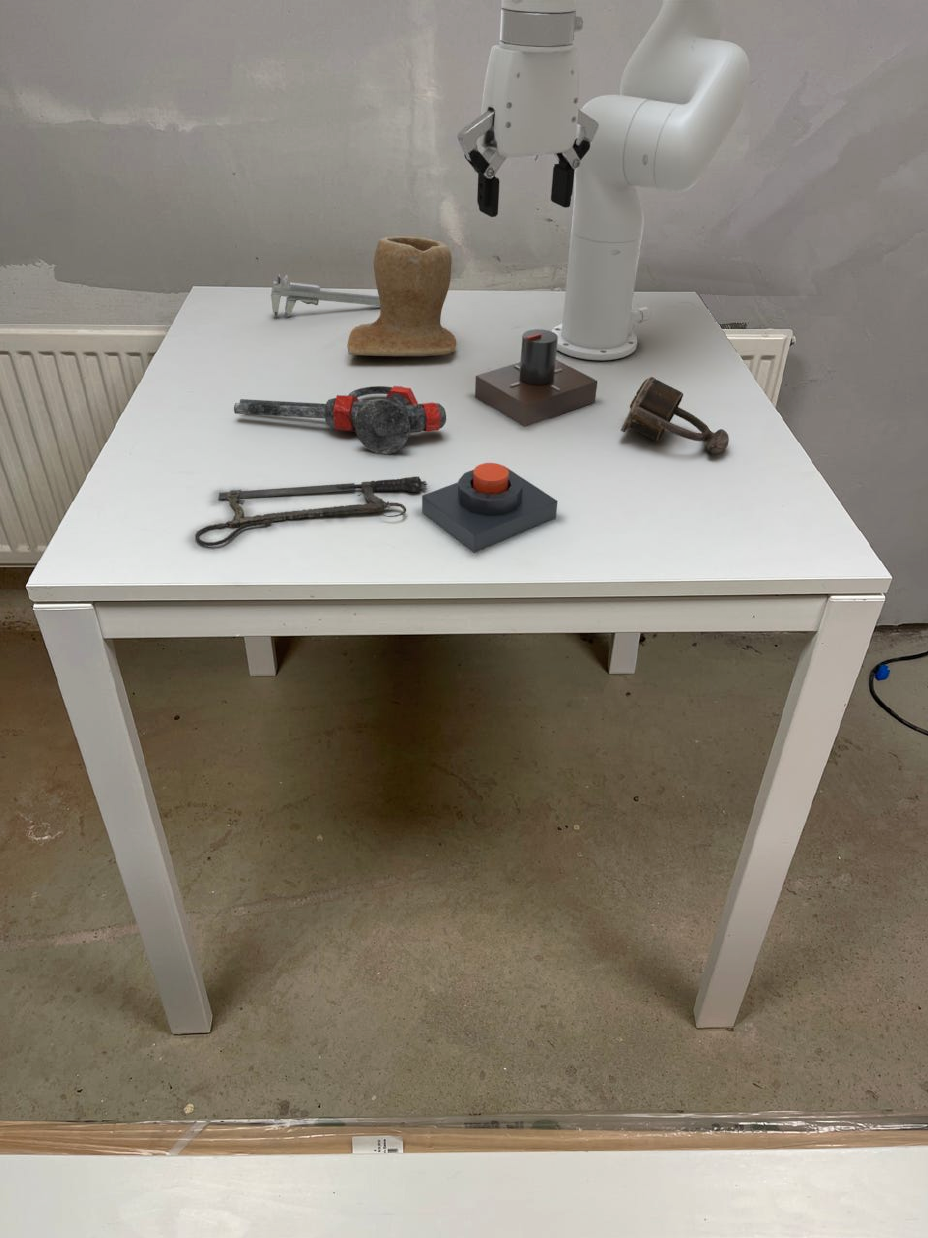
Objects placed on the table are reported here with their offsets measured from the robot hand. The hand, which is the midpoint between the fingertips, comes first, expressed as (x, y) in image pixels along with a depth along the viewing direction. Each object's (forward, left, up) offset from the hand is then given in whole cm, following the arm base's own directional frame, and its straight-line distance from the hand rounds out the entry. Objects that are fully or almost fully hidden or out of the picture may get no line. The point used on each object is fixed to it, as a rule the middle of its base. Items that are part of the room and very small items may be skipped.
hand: (524, 208), depth 102 cm
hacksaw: (+35, +10, -23) cm, 43 cm away
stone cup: (+3, -20, -23) cm, 31 cm away
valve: (+21, -6, -23) cm, 32 cm away
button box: (+20, +21, -23) cm, 37 cm away
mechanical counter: (-8, +21, -23) cm, 32 cm away
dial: (-2, +3, -20) cm, 20 cm away
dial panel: (-2, +3, -23) cm, 23 cm away
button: (+20, +21, -19) cm, 35 cm away
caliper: (+3, -37, -23) cm, 44 cm away
